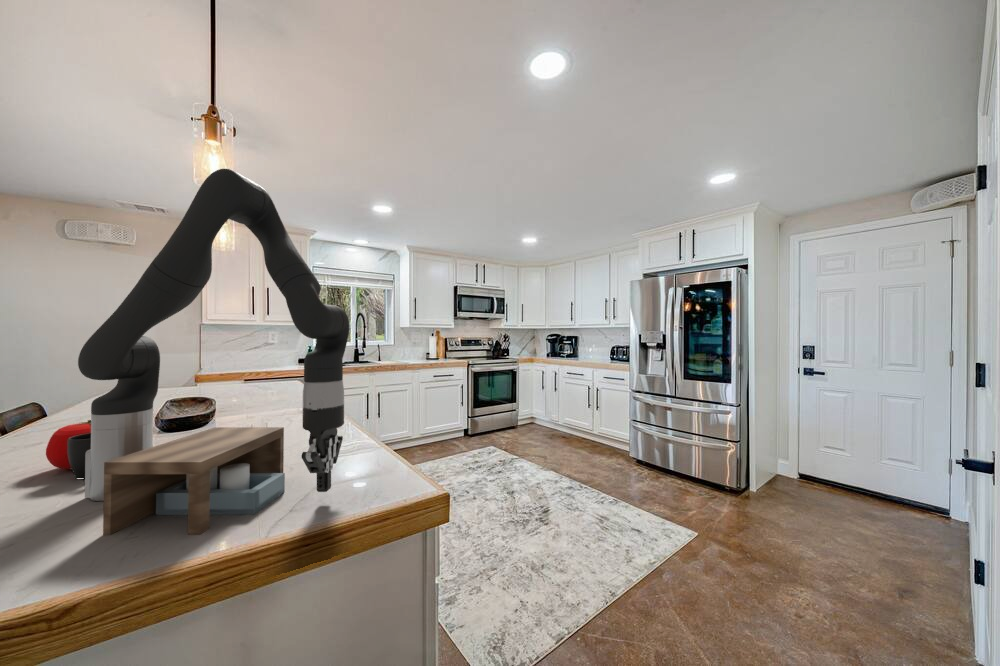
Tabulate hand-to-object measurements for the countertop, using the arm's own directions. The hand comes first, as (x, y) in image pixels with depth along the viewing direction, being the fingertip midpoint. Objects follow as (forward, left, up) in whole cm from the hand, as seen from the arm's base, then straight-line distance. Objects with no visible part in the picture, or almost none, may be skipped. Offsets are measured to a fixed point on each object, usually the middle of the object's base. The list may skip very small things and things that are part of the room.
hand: (323, 490), depth 73 cm
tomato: (-70, +21, -3) cm, 73 cm away
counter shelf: (-23, 0, -2) cm, 23 cm away
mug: (-60, +14, -3) cm, 62 cm away
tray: (-20, 0, -2) cm, 20 cm away
